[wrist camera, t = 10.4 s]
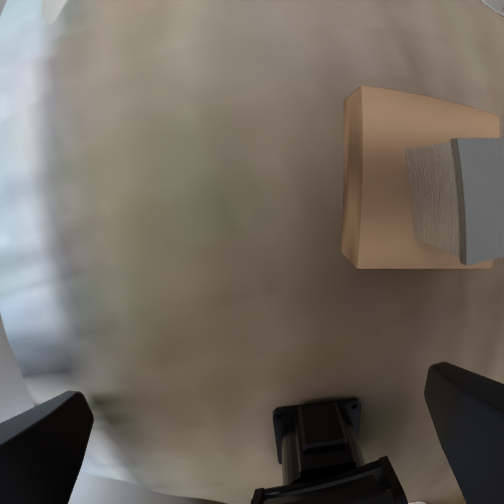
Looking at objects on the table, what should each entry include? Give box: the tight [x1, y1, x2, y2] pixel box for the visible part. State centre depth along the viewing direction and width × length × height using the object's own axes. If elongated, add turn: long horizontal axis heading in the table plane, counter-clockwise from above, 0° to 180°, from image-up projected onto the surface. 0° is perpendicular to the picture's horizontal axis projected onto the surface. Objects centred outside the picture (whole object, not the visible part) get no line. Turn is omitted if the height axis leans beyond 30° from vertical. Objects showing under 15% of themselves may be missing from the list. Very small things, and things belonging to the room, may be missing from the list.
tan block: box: [341, 85, 500, 269], centre depth 16 cm, size 9×9×4 cm
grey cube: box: [404, 138, 504, 266], centre depth 12 cm, size 5×5×5 cm
